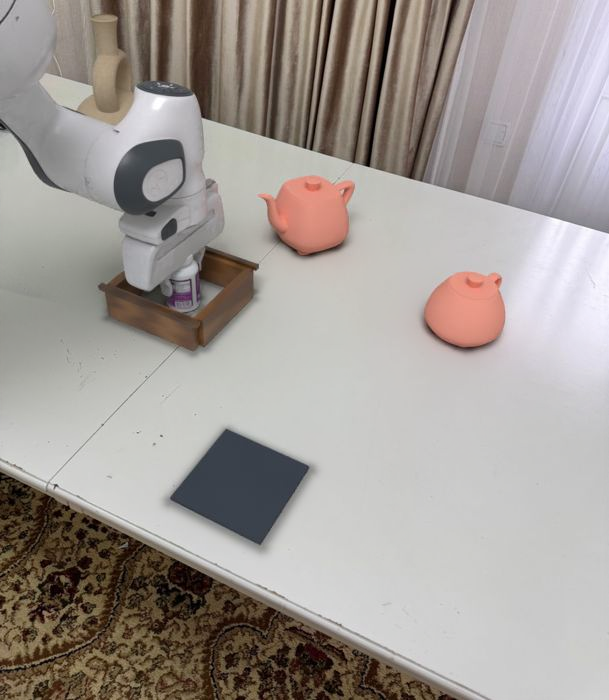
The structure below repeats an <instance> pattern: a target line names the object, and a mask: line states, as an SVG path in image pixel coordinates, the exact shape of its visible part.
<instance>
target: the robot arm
mask: <svg viewBox="0 0 609 700" xmlns="http://www.w3.org/2000/svg"><path fill="white" fill-rule="evenodd" d="M57 32H58V31H57V22H56V19H55V17H54V15H53V12H52V11H51V9H50V6H49V5H48V3H47V1H46V0H0V124H1V125H2V126H3V127H4V128H5V129H6V130H7V131H8V132H9V133H10V134H11V135H12V136H13V137H14V139H15V140H16V141H17V142H18V144H19V145H20V148H21V149H22V150H23V153H24V155H25V157H26V159H27V161H28V164H29V165H30V167H31V170H32V171H33V172H34V174H35V175H36V177H37V178H38V180H40V181H41V182H42V183H43V184H45V185H47V186H49V187H50V188H53V189H56V190H60V191H64V192H66V193H69V194H70V193H71V194H74V195H77V196H79V197H81V198H84V199H87V200H89V201H91V202H94V203H96V204H99V205H102V206H104V207H107V208H110V209H112V210H114V211H118V212H120V213H123V214H122V215H121V216H120V218H119V219H118V225H117V226H118V230H119V232H120V233H122V234H123V235H124V237H123V239H122V244H121V256H122V264H123V265H122V266H123V271H125V277H126V280H127V282H128V283H129V284H131V285H132V286H134V287H137V288H139V289H142V290H145V292H151V291H153V290H154V289H155V288H156V287H157V286H159V285H160V287H159V288H160V292H161V294H162V295H163V296H165V297H166V296H168V297H170V296H171V295H172V294H174V293H175V292H176V283H174V282H170V281H169V279H170V278H171V274H172V273H173V272H174V271H176V270H177V269H178V268H179V267H180V266H182V265H183V264H184V263H185V262H186V259H187V258H188V257H189V256H190V255H193V260H195V261H196V263H197V265H198V268H199V271H201V261H202V258H203V255H204V252H205V246H208V245H209V244H210V243H211V242H212V241H214V240H215V239H216V238H217V237H219V236H220V235H221V234H222V233H223V232H224V228H225V222H226V221H225V212H224V211H225V210H224V203H223V199H222V196H221V195H220V194H219V184H218V182H216V180H215V179H212V178H210V177H209V178H206V176H205V172H204V169H203V161H204V158H205V136H204V124H203V118H202V113H201V111H202V110H201V108H200V104H199V101H198V98H197V96H196V94H195V92H194V91H192V90H191V89H190V88H188V87H186V86H183V85H180V84H178V83H177V84H176V83H173V82H169V81H162V80H147V81H143V82H140V83H137V84H136V85H135V86H134V90H133V92H134V102H133V104H132V106H131V108H130V110H129V112H128V113H127V115H126V116H125V117H124V119H123V120H122V121H121V122H120V123H119V124H117V125H116V126H115V125H112V124H109V123H106V122H103V121H101V120H98V119H95V118H92V117H89V116H87V115H85V114H83V113H80V112H78V111H76V110H75V109H73V108H70V107H68V106H65V105H61V104H60V103H58V102H56V100H55V99H54V98H53V97H52V96H51V94H50V93H49V92H48V91H47V90H46V89H45V87H44V86H43V84H41V82H40V81H41V80H42V78H43V77H44V76H45V74H46V73H47V71H48V69H49V68H50V66H51V64H52V62H53V60H54V57H55V52H56V48H57V38H58V37H57V36H58V35H57V34H58V33H57Z"/></svg>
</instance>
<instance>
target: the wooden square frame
mask: <svg viewBox="0 0 609 700" xmlns="http://www.w3.org/2000/svg"><path fill="white" fill-rule="evenodd" d="M259 269H260V264H259V263H256V262H253V261H250V260H248V259H244V258H242V257H239V256H237V255H234V254H231V253H228V252H225V251H222V250H219V249H217V248H214V247H211V246H208V245H206V246H205V252H204V255H203V258H202V261H201V271H199V279H201V280H204V281H207V282H208V283H211V284H214V285H217V286H220V287H222V288H223V289H222V290H221V291H219V292H218V294H217V295H215V296H214V297H213V298H212V299H211V300H209V302H208V303H207V304H206V305H205V306H204V307H203V308H202V309H201V310H199V311H198V312H197V313H196V315H194V316H191V315H188V314H185V313H184V312H178V311H176V310H173V309H171V308H169V306H166V305H163V304H160V303H158V302H156V301H153V300H150V299H148V298H145V297H143V296H142V295H143V294H145V292H146V291H145V290H142V289H139V288H137V287H134V286H132V285H131V284H129V283H128V282H127V280H126V277H125V271H124V270H123V271H121V272H120V273H119V274H117V275H116V276H114V277H113V278H112V279H111V280H109V281H108V282H106V283H105V282H100V283H99V284H98V285H97V289H98V291H101V292H103V293H104V297H105V303H106V308H107V313H108V317H110V318H112V319H114V320H117V321H119V322H121V323H124V324H127V325H129V326H131V327H134V328H135V329H139V330H141V331H143V332H146V333H149V334H151V335H153V336H155V337H159V338H160V339H163V340H165V341H167V342H170V343H172V344H174V345H177V346H179V347H181V348H185V349H187V350H189V351H192V352H194V351H195V350H197V348H199V346H200V347H203V348H205V347H206V346H207V345H208V344H209V343H210V342H211V341H212V340H213V339H214V338H215V337H216V336H217V335H218V334H219V333H220V332H221V331H222V329H224V328H225V327H226V326H227V325H228V324H229V323H230V321H231V320H233V319H234V318H235V316H237V314H238V313H240V311H241V310H242V309H243V308H244V307H245V306H246V305H248V303H249V302H251V300H253V294H254V272H257V271H258V270H259Z"/></svg>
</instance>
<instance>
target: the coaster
mask: <svg viewBox="0 0 609 700" xmlns="http://www.w3.org/2000/svg"><path fill="white" fill-rule="evenodd" d="M309 469H310V465H308V464H305V463H303V462H301V461H299V460H297V459H295V458H292V457H290V456H288V455H286V454H284V453H281V452H279V451H277V450H275V449H272V448H270V447H268V446H266V445H263V444H261V443H259V442H257V441H255V440H252V439H250V438H249V437H246V436H244V435H242V434H239V433H237V432H235V431H232V430H231V429H228V428H225V429H224V430H223V432H222V433H221V434H220V436H218V438H217V439H216V440H215V442H214V443H213V444H212V445H211V446H210V448H209V449H208V450H207V451H206V453H205V454H204V455H203V456H202V457H201V458H200V460H199V461H198V463H197V464H196V465H195V466H194V467H193V468H192V470H191V471H190V472H189V473H188V475H187V476H186V477H185V479H184V480H183V481H182V482H181V483H180V485H178V487H177V488H176V489H175V490H174V492H173V493H172V494H171V495H170V497H169V499H170V501H172V502H175V503H176V504H178V505H181V506H182V507H184V508H186V509H189V511H192V512H194V513H196V514H197V515H200V516H202V517H204V518H206V519H208V520H210V521H211V522H214V523H215V524H218V525H219V526H222V527H224V528H226V529H227V530H230V531H231V532H234V533H236V534H237V535H239V536H241V537H243V538H245V539H247V540H249V541H251V542H252V543H255V544H257V545H259V546H261V545H262V543H263V542H264V540H265V538H266V537H267V535H268V534H269V532H270V530H271V529H272V527H274V524H275V523H276V521H277V519H278V518H279V516H280V515H281V513H282V511H283V510H284V508H285V507H286V505H287V504H288V503H289V501H290V499H291V498H292V496H293V494H294V493H295V491H296V490H297V488H298V487H299V485H300V484H301V482H302V480H303V478H304V477H305V475H306V474H307V473H308V471H309Z"/></svg>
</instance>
